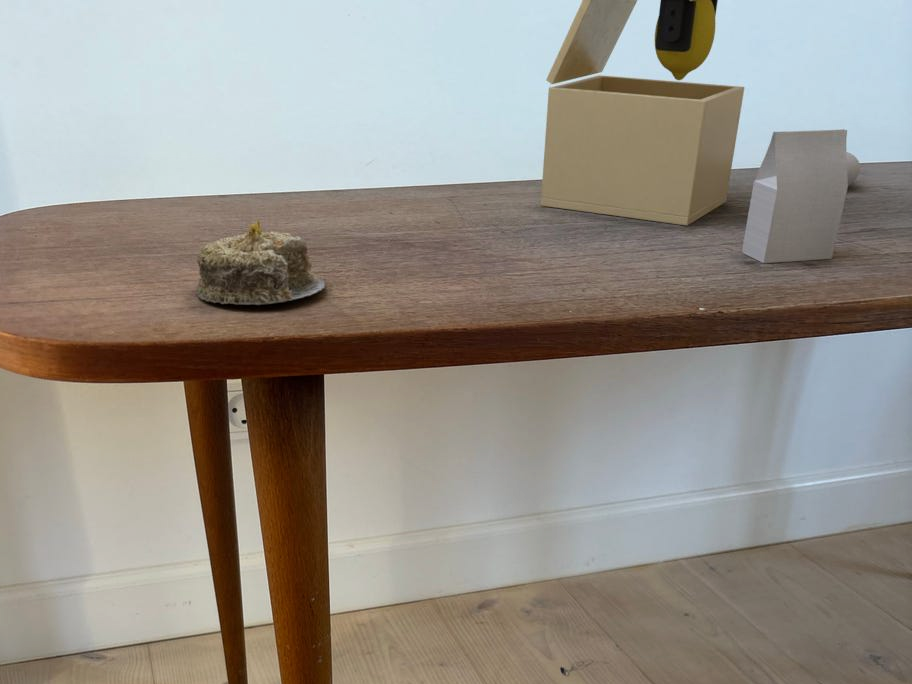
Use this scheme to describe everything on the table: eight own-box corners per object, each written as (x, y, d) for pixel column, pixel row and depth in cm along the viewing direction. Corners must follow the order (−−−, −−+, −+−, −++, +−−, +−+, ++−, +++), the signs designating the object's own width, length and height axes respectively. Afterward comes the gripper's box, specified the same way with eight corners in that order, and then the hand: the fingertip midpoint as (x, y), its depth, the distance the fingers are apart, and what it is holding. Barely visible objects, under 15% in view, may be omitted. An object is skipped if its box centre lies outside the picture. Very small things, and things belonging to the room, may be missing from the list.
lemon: (644, 81, 100) (655, -18, 96) (656, 75, 104) (667, -20, 100) (702, 85, 98) (717, -16, 94) (712, 79, 103) (726, -18, 98)
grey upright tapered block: (831, 258, 92) (859, 133, 86) (763, 263, 90) (787, 136, 85) (808, 248, 95) (833, 126, 89) (741, 252, 93) (763, 128, 88)
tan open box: (726, 202, 110) (744, 86, 104) (687, 225, 101) (705, 101, 95) (588, 184, 117) (598, 75, 111) (540, 205, 108) (548, 87, 102)
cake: (183, 317, 78) (168, 241, 75) (213, 281, 86) (200, 211, 83) (316, 309, 77) (306, 232, 74) (333, 274, 85) (325, 203, 82)
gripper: (728, -206, 82) (692, 58, 92) (785, -188, 94) (748, 44, 104) (637, -203, 85) (612, 53, 95) (703, -185, 97) (675, 39, 107)
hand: (683, 45), depth 100 cm, fingers closed on lemon, 5 cm apart
